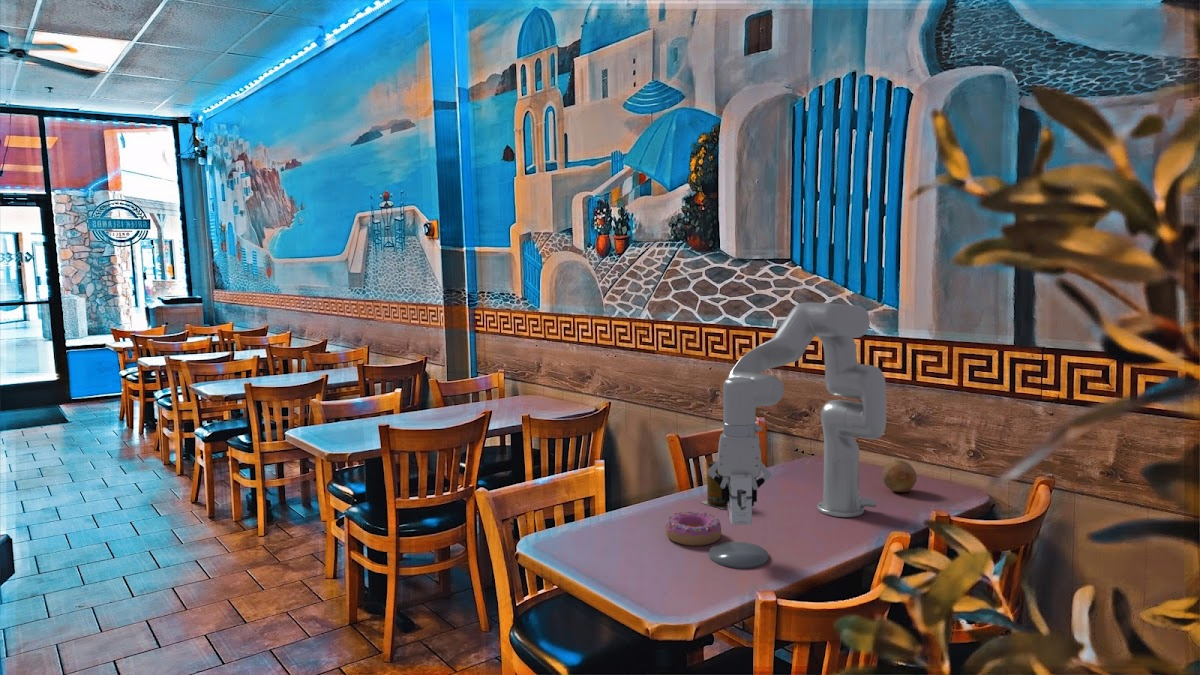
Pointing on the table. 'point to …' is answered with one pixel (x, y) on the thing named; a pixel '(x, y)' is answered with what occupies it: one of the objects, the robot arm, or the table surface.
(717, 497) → the condiment
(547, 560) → the table surface
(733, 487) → the ink box
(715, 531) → the donut
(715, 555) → the grey oval disc
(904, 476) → the onion
